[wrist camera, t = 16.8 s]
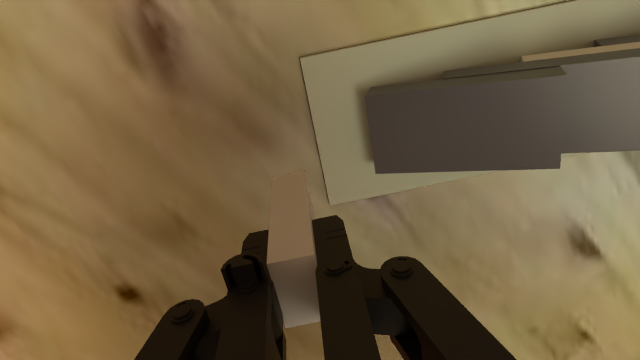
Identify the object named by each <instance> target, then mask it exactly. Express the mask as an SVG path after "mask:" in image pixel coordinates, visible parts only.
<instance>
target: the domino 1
mask: <svg viewBox="0 0 640 360" xmlns="http://www.w3.org/2000/svg"><path fill="white" fill-rule="evenodd" d="M566 85H567V74H566V73H565V72H564V70H563V69H562V68H561V67H560V66H558V67H549V68H540V69H531V70H522V71H513V72H504V73H495V74H486V75H477V76H468V77H459V78H450V79H441V80H432V81H423V82H413V83H404V84H395V85H386V86H377V87H371V88H370V89H369V90H368V91H367V93H366V94H365V95H364V98H365V105H366V111H367V118H368V125H369V132H370V139H371V146H372V153H373V160H374V167H375V174H392V173H426V172H460V171H494V170H528V169H560V162H561V149H562V136H563V123H564V110H565V98H566Z"/></svg>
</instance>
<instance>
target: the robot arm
mask: <svg viewBox="0 0 640 360" xmlns="http://www.w3.org/2000/svg"><path fill="white" fill-rule="evenodd" d="M221 272H222V275H223V278H224V280H225V283H226V286H227V289H228V293H227V296H225V297H224V298H223V299H221V300H219V301H217V302H215V303H212V304H210V305H208V306H204V304H203V303H202V302H201V301H199V300H194V299H191V300H185V301H182V302H180V303H178V304H176V305H174V306H173V307H171V308H170V309H169V310H168V311H167V312H166V313H165V314H164V316H163V317H162V319H161V320H160V322H159V323H158V325H157V326H156V328H155V329H154V331H153V332H152V334H151V335H150V337H149V338H148V340H147V341H146V343H145V344H144V346H143V347H142V349H141V350H140V352H139V353H138V355H137V356H136V358H135V359H134V360H286V339H285V335H284V332H283V321H284V325H285V328H291V327H296V326H301V325H306V324H311V323H316V322H321V329H322V338H323V348H324V357H325V360H381V358H380V355H379V351H378V347H377V343H376V339H375V336H374V334H380V335H389V336H390V338H391V341H392V342H393V344H394V345H395V347H396V348H397V350H398V351H399V353H400V354H401V356H402V357H403V359H404V360H516V359H515V358H514V357H513V356H512V354H511V353H510V352H509V351H508V350H507V349H506V348H505V347H504V346H503V345H502V344H501V343H500V342H499V341H498V340H497V339H496V338H495V337H494V336H493V335H492V334H491V333H490V332H489V331H488V330H487V329H486V328H485V327H484V326H483V325H482V324H481V323H480V322H479V321H478V320H477V319H476V318H475V317H474V316H473V315H472V314H471V313H470V312H469V311H468V310H467V309H466V308H465V307H464V306H463V305H462V304H461V303H460V302H459V301H458V300H457V299H456V298H455V297H454V296H453V295H452V294H451V293H450V292H449V291H448V290H447V289H446V288H445V287H444V286H443V285H442V283H441V282H440V281H439V280H438V279H437V278H436V277H435V276H434V275H433V274H432V273H431V272H430V271H429V270H428V269H427V268H426V267H425V266H424V265H423V264H422V263H421V262H419V261H418V260H416V259H414V258H411V257H404V256H399V257H395V258H391V259H389V260H387V261H385V262H384V264H383V265H382V266H381V269H369V268H365V267H362V266H360V265H358V264H357V263H356V262H355V261H354V259H353V257H352V253H351V249H350V245H349V242H348V238H347V234H346V230H345V226H344V223H343V220H342V219H340V218H339V217H338V216H337V215H334V216H329V217H324V218H319V219H315V217H314V213H313V208H312V203H311V199H310V194H309V190H308V185H307V180H306V176H305V171H299V172H294V173H289V174H284V175H279V176H274V177H272V189H271V204H270V219H269V230H264V231H259V232H254V233H249V235H248V236H247V237H246V239H245V240H244V241H243V246H242V252H241V254H239V255H236V256H234V257H232V258H231V259H229V260H228V261H227V262H226V263H225V264H223V266H222V268H221Z"/></svg>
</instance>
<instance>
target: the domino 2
mask: <svg viewBox="0 0 640 360" xmlns="http://www.w3.org/2000/svg"><path fill="white" fill-rule="evenodd" d="M558 66H560V67H561V68H562V69H563V70H564V72H565V73H566V74H567V85H566V98H565V110H564V123H563V136H562V149H561V154H564V153H589V152H613V151H637V150H640V48H635V49H627V50H618V51H610V52H601V53H593V54H584V55H576V56H568V57H559V58H551V59H542V60H534V61H525V62H517V63H508V64H500V65H491V66H483V67H474V68H466V69H457V70H449V71H445V72H444V76H443V79H450V78H459V77H468V76H477V75H486V74H495V73H504V72H513V71H522V70H531V69H540V68H549V67H558Z"/></svg>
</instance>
